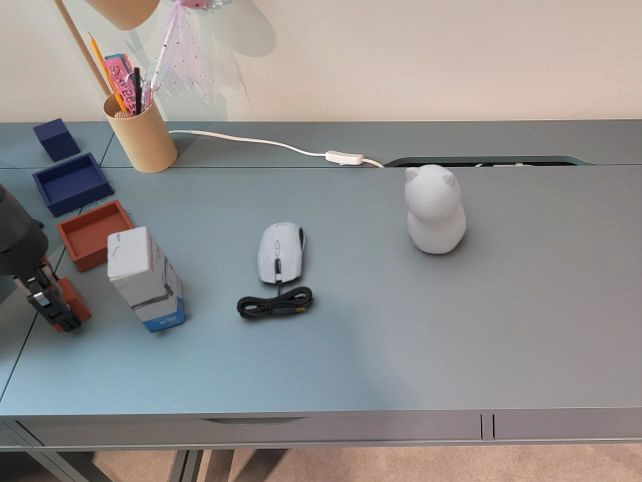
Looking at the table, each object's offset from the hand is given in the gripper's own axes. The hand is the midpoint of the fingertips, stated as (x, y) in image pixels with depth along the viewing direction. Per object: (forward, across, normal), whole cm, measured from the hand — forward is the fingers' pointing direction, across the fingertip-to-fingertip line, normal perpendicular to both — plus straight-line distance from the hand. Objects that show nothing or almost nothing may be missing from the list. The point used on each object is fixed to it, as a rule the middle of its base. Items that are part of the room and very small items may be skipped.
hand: (66, 309), depth 89 cm
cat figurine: (+1, +18, +50) cm, 53 cm away
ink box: (+1, +6, +11) cm, 13 cm away
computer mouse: (+1, +10, +27) cm, 29 cm away
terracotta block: (+1, 0, 0) cm, 1 cm away
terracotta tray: (+1, -12, +8) cm, 14 cm away
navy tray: (+1, -26, +8) cm, 27 cm away
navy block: (+1, -37, +9) cm, 38 cm away
